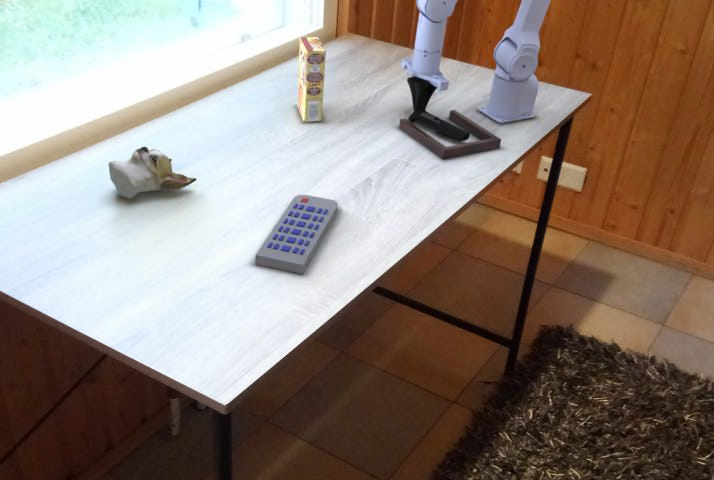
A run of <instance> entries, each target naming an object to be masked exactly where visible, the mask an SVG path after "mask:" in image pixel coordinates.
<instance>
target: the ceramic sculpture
mask: <svg viewBox="0 0 714 480" xmlns="http://www.w3.org/2000/svg"><path fill="white" fill-rule="evenodd" d="M172 161H173V160H172V158H170V157H169V156H168V155H166V154H165V153H164V152H163V151H161V150H158V149H155V148H151V149H149V148H148V147H147V146H142V147H139V148H136V149H135V150H134V152H132V155H131V157H130V158H129V159H127V160H122V161H119V160H113V161H109V162H108V170H109V171H108V172H109V177H110V180H111V182H112V184H113V185H114V187H115V189H116V192H117V193H118V194H119V196H121V197H122V198H124V199H125V198H126V199H128V200H131V199H133V198H134V197H135V196H136V195H137V194H138V193H142V192H154V191H160V190H168V191H178V190H181V189H183V188H186V187H188V186H190V185H191V184H193V183H194V182H196V181H197V178H195V177H188V176H187V175H185V174H181V173H176V172H174V171H173V167H172V166H173V165H172Z"/></svg>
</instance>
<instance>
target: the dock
mask: <svg viewBox="0 0 714 480" xmlns="http://www.w3.org/2000/svg"><path fill="white" fill-rule="evenodd" d="M448 120H449V121H450V122H452V123H454V125H456V126H457V127H459V128H461V129H463V130H465V131H467V132H469V133H470V135H472V136H474V137H475V138H477V139H478V140H476V141H475V140H474V141H470V142H465V143H459V144H454V145H448V146H445V145H444V144H442V143H441V142H440V141H438V140H437V139H436V138H434V137H433V136H431V135H430V134H428V133H427V132H426V131H424V130H422V129H421V128H419V127H418V126H417V125H415V124H414V123H413V122H410V121H409V120H408V118H400V119H399V127H398V128H399V130H401V131H403V132H404V133H406V134H407V135H408V136H409V137H411V138H413V139H414V140H415V141H417V142H418V143H419V144H420V145H422V146H424V147H425V148H427V149H428V150H429V151H431V152H432V153H433V154H434V155H436V156H437V157H438V158H440V159H441V160H448V159H453V158H458V157H463V156H467V155H473V154H479V153H483V152H488V151H493V150H498V149H500V146H501V142H502V138H500V137H499V136H497V135H495V134H494V133H492V132H490V131H489V130H488V129H486V128H484V127H483V126H482V125H480V124H478V123H477V122H474V121H473V120H472V119H470V118H468V117H467V116H465V115H463V114H462V113H460V112H459V111H458V110H456V109H451V110H449V114H448Z"/></svg>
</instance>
